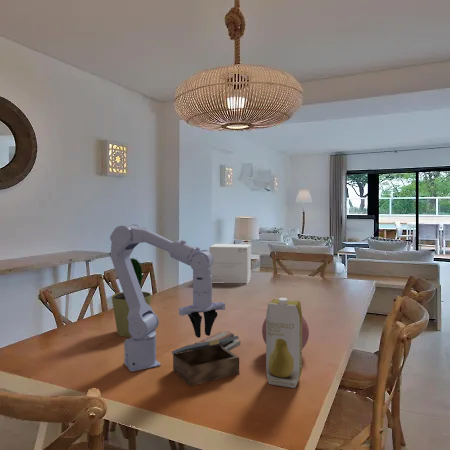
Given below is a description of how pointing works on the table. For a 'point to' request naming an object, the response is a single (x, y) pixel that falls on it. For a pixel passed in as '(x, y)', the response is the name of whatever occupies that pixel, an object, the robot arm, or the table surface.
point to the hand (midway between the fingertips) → (202, 335)
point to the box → (205, 364)
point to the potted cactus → (121, 303)
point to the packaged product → (222, 335)
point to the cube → (231, 263)
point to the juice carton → (284, 342)
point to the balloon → (304, 332)
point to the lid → (204, 344)
